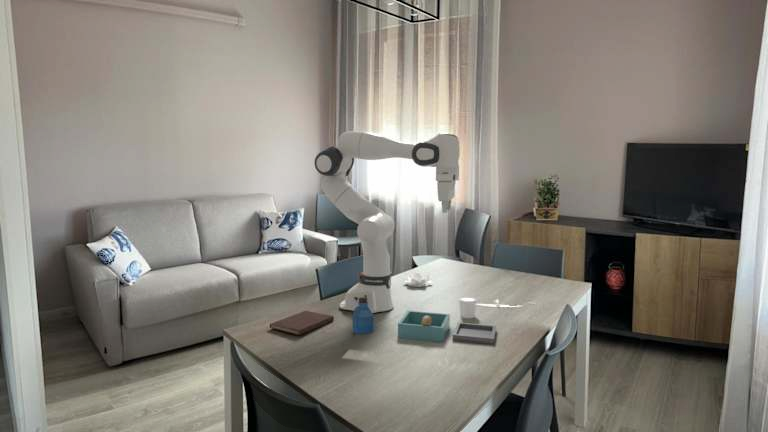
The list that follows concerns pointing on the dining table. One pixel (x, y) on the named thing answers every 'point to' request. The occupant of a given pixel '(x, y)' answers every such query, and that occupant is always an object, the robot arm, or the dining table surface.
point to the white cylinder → (467, 307)
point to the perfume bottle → (362, 318)
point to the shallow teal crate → (424, 326)
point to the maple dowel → (426, 320)
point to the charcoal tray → (474, 333)
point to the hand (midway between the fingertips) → (446, 211)
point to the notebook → (301, 322)
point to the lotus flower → (418, 280)
